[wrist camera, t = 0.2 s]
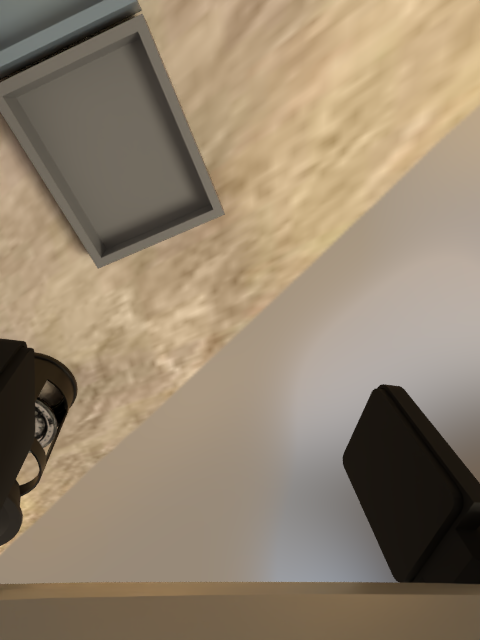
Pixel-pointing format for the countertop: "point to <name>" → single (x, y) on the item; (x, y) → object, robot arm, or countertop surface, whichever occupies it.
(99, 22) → the slate-blue tray
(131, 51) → the charcoal tray
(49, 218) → the countertop surface
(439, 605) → the robot arm
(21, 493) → the french press
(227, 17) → the countertop surface
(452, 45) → the countertop surface
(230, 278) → the countertop surface
